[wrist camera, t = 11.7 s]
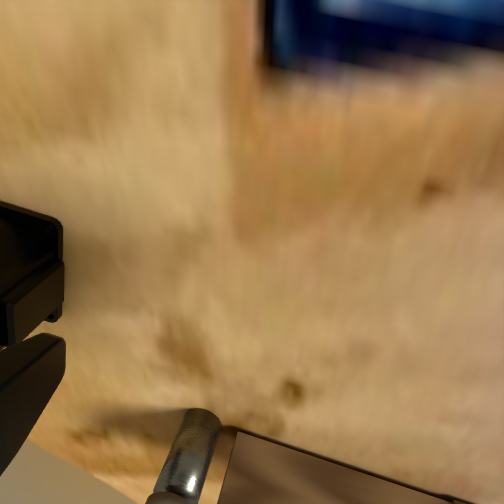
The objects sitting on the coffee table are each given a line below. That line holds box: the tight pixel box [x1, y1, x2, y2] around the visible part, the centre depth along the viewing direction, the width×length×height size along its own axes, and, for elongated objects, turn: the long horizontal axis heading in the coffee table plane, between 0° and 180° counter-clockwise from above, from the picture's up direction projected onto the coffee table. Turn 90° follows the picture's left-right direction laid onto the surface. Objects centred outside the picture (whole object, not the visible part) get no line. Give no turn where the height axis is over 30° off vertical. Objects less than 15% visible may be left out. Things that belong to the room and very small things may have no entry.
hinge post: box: [153, 409, 222, 504], centre depth 24 cm, size 2×2×5 cm
